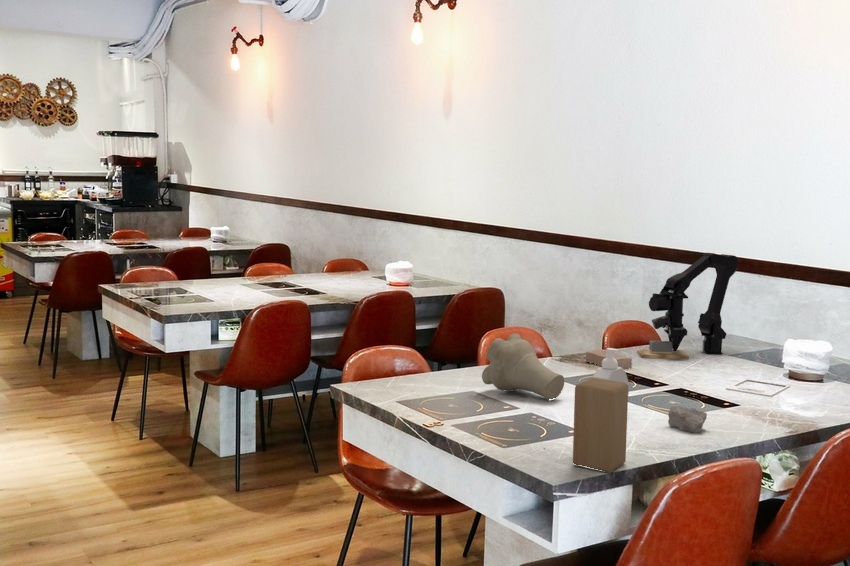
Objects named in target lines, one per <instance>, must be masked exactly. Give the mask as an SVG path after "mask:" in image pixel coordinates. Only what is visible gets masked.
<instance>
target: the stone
mask: <svg viewBox="0 0 850 566" xmlns="http://www.w3.org/2000/svg"><path fill="white" fill-rule="evenodd" d="M707 416H708V413H707V412H705V411H703V410H698V409H696V408H693V407H692V408H689V407H686V406H680V405H679V406H671V407H670V408H669V411H668V421H667V423H668V425H669V426H670V427H674V428H678V429H680V430H681V431H684V432H690V433H696V434H697V433H700V432H701V430H702V429H703V426H704V424H705V422H706V420H707Z"/></svg>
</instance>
